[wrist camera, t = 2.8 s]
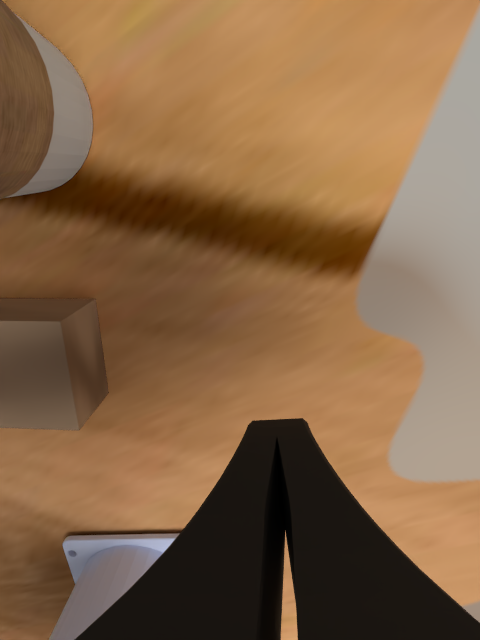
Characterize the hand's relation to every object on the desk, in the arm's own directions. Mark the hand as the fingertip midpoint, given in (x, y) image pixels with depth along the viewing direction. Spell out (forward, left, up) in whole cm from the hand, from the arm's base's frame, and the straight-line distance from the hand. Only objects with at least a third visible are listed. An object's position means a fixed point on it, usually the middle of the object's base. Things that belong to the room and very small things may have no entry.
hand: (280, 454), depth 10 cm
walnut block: (0, +13, -9) cm, 16 cm away
